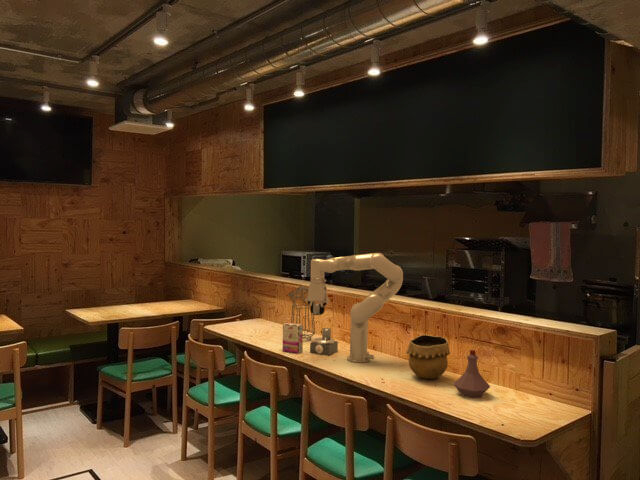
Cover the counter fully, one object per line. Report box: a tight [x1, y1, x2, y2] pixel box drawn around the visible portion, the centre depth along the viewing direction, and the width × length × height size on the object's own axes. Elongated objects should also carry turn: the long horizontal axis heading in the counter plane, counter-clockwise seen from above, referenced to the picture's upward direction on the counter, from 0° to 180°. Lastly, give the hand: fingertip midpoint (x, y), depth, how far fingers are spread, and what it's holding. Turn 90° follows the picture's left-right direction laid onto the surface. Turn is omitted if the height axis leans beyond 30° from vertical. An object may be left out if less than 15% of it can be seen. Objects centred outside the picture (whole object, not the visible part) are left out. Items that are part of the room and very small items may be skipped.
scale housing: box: [309, 340, 339, 357], centre depth 309 cm, size 12×12×6 cm
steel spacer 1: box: [312, 302, 323, 316], centre depth 295 cm, size 5×5×6 cm
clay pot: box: [405, 334, 451, 380], centre depth 262 cm, size 21×21×20 cm
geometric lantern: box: [287, 285, 316, 342], centre depth 338 cm, size 16×16×35 cm
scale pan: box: [313, 337, 335, 344], centre depth 309 cm, size 12×12×1 cm
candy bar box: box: [282, 322, 304, 355], centre depth 308 cm, size 11×5×16 cm, turn 62°
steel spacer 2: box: [321, 327, 332, 340], centre depth 311 cm, size 5×5×6 cm
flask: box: [453, 349, 491, 399], centre depth 238 cm, size 16×16×20 cm
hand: (317, 313), depth 295 cm, fingers closed on steel spacer 1, 5 cm apart
